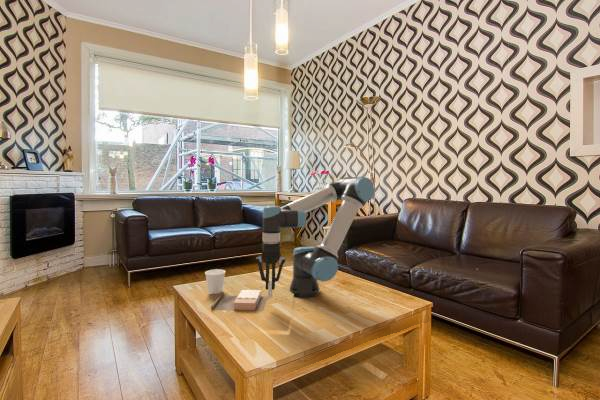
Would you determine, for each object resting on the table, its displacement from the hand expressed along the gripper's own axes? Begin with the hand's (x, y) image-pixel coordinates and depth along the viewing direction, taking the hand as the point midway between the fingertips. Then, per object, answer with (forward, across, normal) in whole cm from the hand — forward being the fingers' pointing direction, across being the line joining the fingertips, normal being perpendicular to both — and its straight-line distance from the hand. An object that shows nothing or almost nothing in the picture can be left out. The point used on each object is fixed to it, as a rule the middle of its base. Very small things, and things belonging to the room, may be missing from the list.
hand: (270, 296), depth 137 cm
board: (+6, +14, -6) cm, 16 cm away
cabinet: (+5, +10, 0) cm, 12 cm away
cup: (+7, +30, -20) cm, 36 cm away
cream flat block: (+5, +11, -9) cm, 15 cm away
